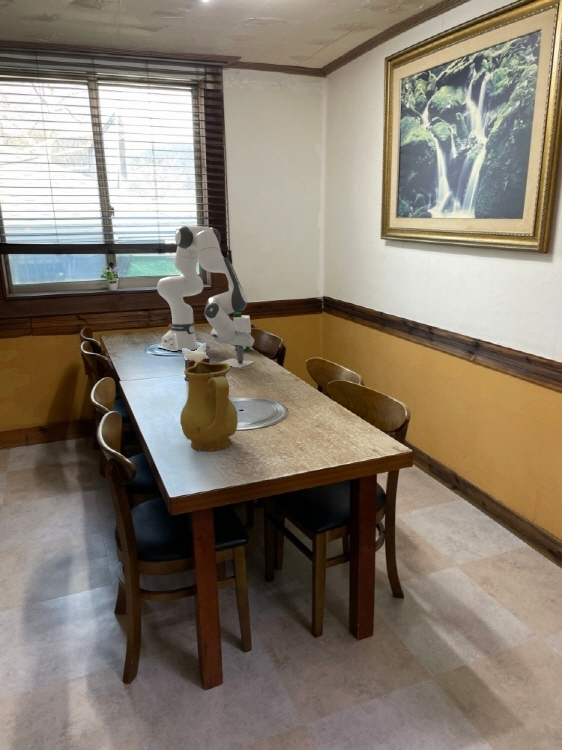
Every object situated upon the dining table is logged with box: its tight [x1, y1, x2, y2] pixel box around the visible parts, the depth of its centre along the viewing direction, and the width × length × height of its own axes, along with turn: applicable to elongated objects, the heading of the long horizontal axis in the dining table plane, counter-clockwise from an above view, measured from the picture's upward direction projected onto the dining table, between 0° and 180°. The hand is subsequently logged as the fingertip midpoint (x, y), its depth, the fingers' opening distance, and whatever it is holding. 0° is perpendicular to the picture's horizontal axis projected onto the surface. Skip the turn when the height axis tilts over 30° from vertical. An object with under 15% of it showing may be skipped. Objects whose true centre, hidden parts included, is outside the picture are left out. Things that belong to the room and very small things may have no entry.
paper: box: [219, 358, 255, 369], centre depth 255 cm, size 14×12×1 cm
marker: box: [236, 345, 245, 363], centre depth 252 cm, size 3×3×14 cm
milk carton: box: [232, 311, 252, 352], centre depth 280 cm, size 9×9×20 cm
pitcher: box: [179, 361, 238, 452], centre depth 158 cm, size 17×19×25 cm
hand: (240, 347), depth 252 cm, fingers closed on marker, 3 cm apart
